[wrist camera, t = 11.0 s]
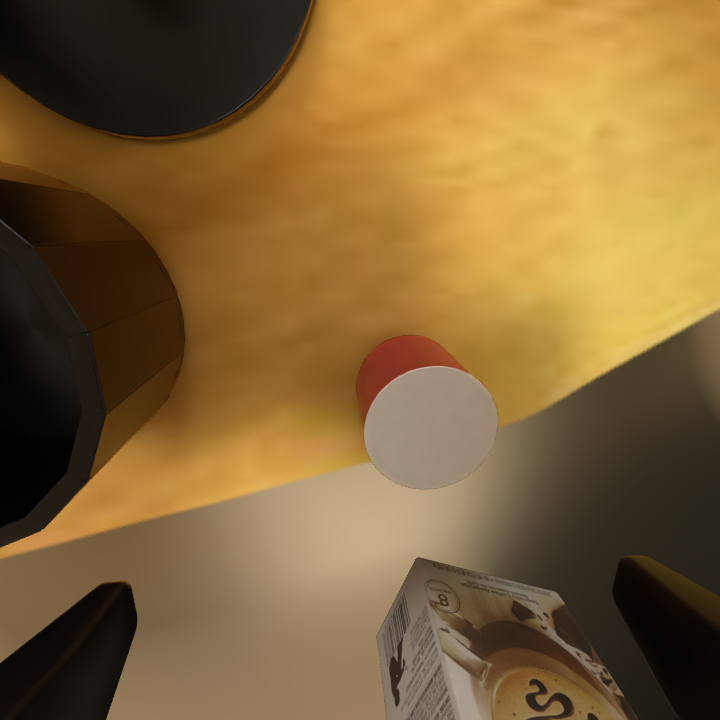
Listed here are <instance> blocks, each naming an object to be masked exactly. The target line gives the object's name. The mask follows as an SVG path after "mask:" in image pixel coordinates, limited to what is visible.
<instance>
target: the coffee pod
mask: <svg viewBox="0 0 720 720" xmlns="http://www.w3.org/2000/svg"><path fill="white" fill-rule="evenodd" d="M356 390H357V397H358V402H359V407H360V412H361V418H362V423H363V428H364V441H365V446H366V450H367V453H368V455H369V458H370V459H371V461H372V463H373V464H374V465H375V467H376V468H377V470H379V471H380V472H381V473H382V474H383V475H384V476H385V477H387V478H388V479H389V480H391V481H393V482H395V483H397V484H399V485H402V486H405V487H409V488H414V489H436V488H441V487H445V486H448V485H451V484H454V483H456V482H458V481H460V480H462V479H463V478H465V477H467V476H468V475H470V474H471V473H472V472H474V471H475V470H476V469H477V468H478V467H479V466H480V465H481V464H482V463H483V461H484V460H485V459H486V458H487V456H488V454H489V453H490V451H491V449H492V447H493V445H494V442H495V439H496V435H497V431H498V413H497V409H496V405H495V403H494V400H493V398H492V396H491V395H490V393H489V391H488V390H487V389H486V388H485V386H484V385H483V384H482V383H481V382H480V381H478V380H477V379H476V378H475V377H473V376H472V375H470V374H469V373H468V372H467V371H466V370H465V369H464V368H463V367H462V366H461V365H460V364H459V363H458V362H457V361H456V360H455V359H454V358H453V357H452V356H451V355H450V354H449V353H448V352H447V351H446V350H445V349H444V348H443V347H442V346H440V345H439V344H437V343H436V342H434V341H432V340H430V339H428V338H424V337H420V336H412V335H408V336H400V337H395V338H392V339H389V340H387V341H385V342H383V343H382V344H380V345H379V346H377V347H376V348H375V349H374V350H372V351H371V352H370V354H369V355H368V356H367V357H366V358H365V360H364V361H363V363H362V365H361V367H360V370H359V372H358V376H357V383H356Z"/></svg>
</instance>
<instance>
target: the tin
mask: <svg viewBox="0 0 720 720" xmlns="http://www.w3.org/2000/svg"><path fill="white" fill-rule="evenodd" d="M184 342H185V335H184V321H183V316H182V311H181V306H180V302H179V299H178V296H177V293H176V290H175V287H174V285H173V283H172V281H171V278H170V276H169V274H168V272H167V270H166V268H165V267H164V265H163V263H162V262H161V260H160V259H159V257H158V256H157V254H156V252H155V251H154V250H153V248H152V247H151V246H150V245H149V243H148V242H147V241H146V240H145V238H144V237H143V236H142V235H141V234H140V233H139V232H138V231H137V230H136V229H135V228H134V227H133V226H132V225H131V224H130V223H129V222H128V221H127V220H126V219H125V218H124V217H122V216H121V215H120V214H119V213H117V212H116V211H115V210H114V209H112V208H111V207H110V206H109V205H107V204H106V203H104V202H102V201H101V200H99V199H98V198H96V197H94V196H93V195H91V194H90V193H88V192H86V191H84V190H82V189H79V188H77V187H75V186H73V185H71V184H69V183H67V182H64V181H61V180H58V179H55V178H52V177H49V176H46V175H43V174H40V173H38V172H35V171H33V170H30V169H28V168H25V167H20V166H16V165H11V164H6V163H2V162H0V548H1V547H3V546H5V545H8V544H10V543H13V542H15V541H18V540H20V539H23V538H25V537H27V536H30V535H32V534H35V533H37V532H40V531H41V530H42V529H44V528H45V527H46V526H47V525H48V524H49V523H50V522H51V521H52V520H53V519H54V518H55V517H56V516H57V515H58V514H59V513H60V512H61V510H62V509H63V508H64V507H65V506H66V505H67V504H68V503H69V502H70V501H71V500H72V499H73V498H74V497H75V496H76V495H77V494H78V493H79V492H80V491H81V490H82V489H83V488H84V487H85V485H86V484H87V483H88V482H89V481H90V480H91V479H92V478H93V477H94V476H95V475H96V474H97V473H98V472H99V471H100V470H101V469H102V468H103V467H104V466H105V465H106V464H107V463H108V461H109V460H110V459H111V458H112V457H113V456H114V455H115V454H116V453H117V452H118V451H119V450H120V449H121V448H122V447H123V446H124V445H125V444H126V443H127V442H128V441H129V440H130V439H131V437H132V436H133V435H134V434H135V433H136V432H137V431H138V430H139V429H140V428H141V427H142V426H143V425H144V424H145V423H146V422H147V421H148V420H149V418H150V417H151V416H152V415H153V414H154V413H155V412H156V411H157V410H158V409H159V408H160V407H161V406H162V405H163V404H164V403H165V402H166V400H167V398H168V397H169V395H170V392H171V390H172V388H173V387H174V385H175V382H176V380H177V377H178V375H179V372H180V368H181V364H182V360H183V355H184Z"/></svg>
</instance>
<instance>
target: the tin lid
mask: <svg viewBox="0 0 720 720" xmlns="http://www.w3.org/2000/svg"><path fill="white" fill-rule="evenodd" d="M312 3H313V0H0V74H1V75H2V76H4V77H5V78H6V79H7V80H8V81H10V82H11V83H12V84H13V85H15V86H16V87H17V88H18V89H19V90H21V91H22V92H24V93H25V94H27V95H28V96H30V97H31V98H33V99H34V100H36V101H37V102H39V103H40V104H42V105H43V106H45V107H47V108H49V109H51V110H52V111H54V112H56V113H58V114H60V115H62V116H64V117H66V118H68V119H70V120H72V121H75V122H77V123H79V124H82V125H85V126H87V127H90V128H93V129H96V130H98V131H101V132H104V133H109V134H113V135H118V136H122V137H126V138H136V139H147V140H159V139H175V138H180V137H186V136H191V135H196V134H199V133H201V132H204V131H207V130H210V129H213V128H215V127H218V126H220V125H222V124H223V123H225V122H227V121H229V120H231V119H233V118H234V117H236V116H238V115H239V114H241V113H242V112H243V111H244V110H246V109H247V108H248V107H250V106H251V105H252V104H254V103H255V102H256V101H257V100H258V99H259V98H260V97H261V96H262V95H263V94H264V93H265V92H266V91H267V90H268V89H269V88H270V87H271V86H272V85H273V83H274V82H275V80H276V79H277V78H278V76H279V75H280V74H281V72H282V71H283V70H284V68H285V67H286V65H287V64H288V62H289V60H290V58H291V56H292V54H293V53H294V51H295V49H296V47H297V45H298V43H299V41H300V39H301V36H302V33H303V31H304V28H305V26H306V23H307V21H308V18H309V14H310V11H311V7H312Z"/></svg>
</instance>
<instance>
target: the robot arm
mask: <svg viewBox="0 0 720 720" xmlns="http://www.w3.org/2000/svg"><path fill="white" fill-rule="evenodd" d="M612 591H613V598H614V601H615V603H616V606H617V608H618V609H619V611H620V613H621V615H622V617H623V619H624V621H625V623H626V625H627V626H628V628H629V630H630V632H631V634H632V636H633V638H634V640H635V642H636V643H637V645H638V647H639V649H640V651H641V653H642V655H643V657H644V659H645V661H646V662H647V664H648V666H649V668H650V670H651V672H652V674H653V675H654V678H655V680H656V681H657V683H658V685H659V687H660V688H661V690H662V692H663V694H664V696H665V697H666V699H667V701H668V702H669V704H670V706H671V707H672V709H673V711H674V712H675V714H676V715H677V717H678V719H679V720H720V596H718V595H716V594H714V593H712V592H711V591H709V590H707V589H705V588H704V587H702V586H700V585H698V584H696V583H694V582H693V581H691V580H689V579H687V578H686V577H684V576H682V575H680V574H678V573H677V572H675V571H673V570H671V569H669V568H668V567H666V566H664V565H662V564H660V563H658V562H657V561H655V560H653V559H651V558H650V557H648V556H644V555H635V556H634V555H633V556H624V557H622V558H621V559H620V561H619V565H618V568H617V572H616V576H615V581H614V584H613V589H612ZM136 627H137V613H136V608H135V603H134V598H133V593H132V588H131V586H130V584H129V583H128V582H126V581H117V582H105V583H102V584H100V585H99V586H97V587H96V588H95V589H94V590H92V591H91V592H90V593H88V594H87V595H86V596H85V597H83V598H82V599H81V600H80V601H78V602H77V603H76V604H75V605H73V606H72V607H71V608H69V609H68V610H67V611H66V612H64V613H63V614H62V615H61V616H60V617H58V618H57V619H56V620H54V621H53V622H52V623H50V624H49V625H48V626H47V627H45V628H44V629H43V630H42V631H40V632H39V633H38V634H36V635H35V636H34V637H33V638H31V639H30V640H29V641H28V642H26V643H25V644H24V645H23V646H21V647H20V648H19V649H17V650H16V651H15V652H14V653H12V654H11V655H10V656H9V657H7V658H6V659H5V660H4V661H2V662H1V663H0V720H106V718H107V715H108V712H109V709H110V706H111V703H112V700H113V697H114V694H115V691H116V688H117V685H118V682H119V679H120V676H121V673H122V670H123V667H124V664H125V661H126V658H127V655H128V652H129V649H130V646H131V643H132V640H133V637H134V635H135V631H136Z"/></svg>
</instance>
